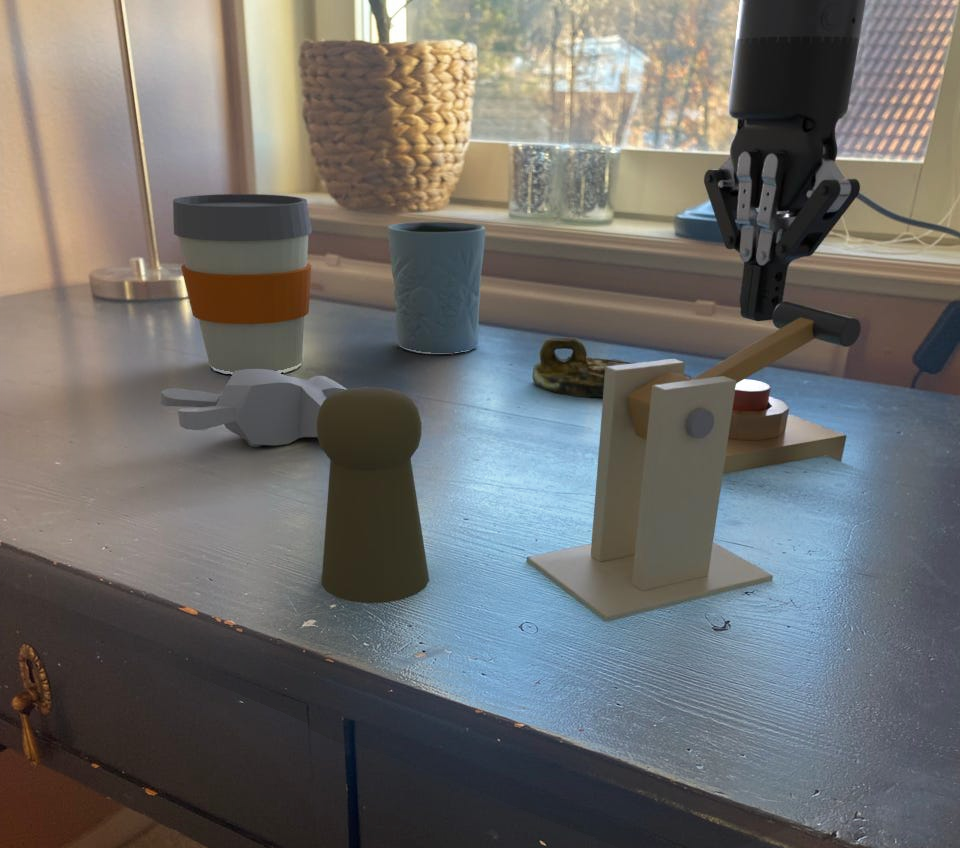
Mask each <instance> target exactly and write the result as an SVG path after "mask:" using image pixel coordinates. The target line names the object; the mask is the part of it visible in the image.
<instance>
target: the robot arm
mask: <svg viewBox="0 0 960 848" xmlns="http://www.w3.org/2000/svg"><path fill="white" fill-rule="evenodd" d="M866 1H867V0H739V8H738V17H737V26H736V33H735V34H736V35H735V44H734V53H733V62H732V70H731V80H730V86H729V88H730V89H729V96H728V97H729V98H728V105H727V112H728V115H729V116H730V117H731V118H732V119H736V120H737V126H736V130H735V133H734V136H733V138H732V140H731V142H730V145H729V158H727V159H726V161H724V163H723V164H722V165H721V166H720V167H719V168H713V169H708V170H706V171H705V173H704V176H703V184H704V187H705V190H706V193H707V196H708V198H709V202H710V205H711V207H712V211H713V214H714V217H715V220H716V223H717V226H718V230H719V232H720V235H721V238H722V240H723V244H724V246H725V248H726V249H727V250H735V251H736V252H737V253H738V254H739V258H740V260H741V261H742V262H743V269H742V279H741V286H740V294H739V307H740V316H741V318H743V319H747V320H751V321H755V322H765V321H773V313H774V310H775V309H776V307H777V306H778V305H779V304H780V303H782V302H784V296H785V295H784V294H785V288H786V280H787V274H788V269H789V266H790V264H791V263H792V262H793V261H795V260H798V259H801V258H805V257H811V256H812V255H814V253H815V252H816V251H817V249H818V248H819V247H820V246H821V244H822V243H823V241H824V240H825V239H826V237H828V235H829V234H830V232H831V231H832V230H833V228H834V227H835V226H836V224H837V223H839V221H840V219H841V218H842V217H843V215H844V214H845V213H846V211H847V210H848V209H849V207H851V205H852V204H853V203H854V201H855V200H856V198H858V196H859V194H860V191H861V184H860V181H859V180H858V179H857V178H845V176H844V175H843V173H842V172H841V170H840V169H839V167H838V166H837V164H836V163H835V162H836V159H837V156H838V144H837V138H836V137H837V136H836V127H837V124H838V122H839V120H840V119H842V118H844V117H845V116H846V114H847V112H848V111H849V105H850V98H851V92H852V86H853V81H854V74H855V68H856V62H857V55H858V49H859V44H860V38H861V31H862V27H863V26H862V25H863V21H864V20H863V19H864V13H865V6H866ZM757 209H758V211H757ZM737 224H738V225H739V226H740V229H739V227H738V225H737ZM780 232H781V234H780Z"/></svg>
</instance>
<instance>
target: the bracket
mask: <svg viewBox="0 0 960 848" xmlns="http://www.w3.org/2000/svg"><path fill="white" fill-rule="evenodd" d="M640 362H641V361H640ZM640 362H637V363H634V362H632V363H633V364H624V365H616V366H607V367H606V368H605V379H604V392H603V397H602V403H601V404H602V405H601V417H600V418H601V419H600V430H599V445H598V457H597V468H596V481H595V495H594V505H593V507H594V508H593V519H592V531H591V535H592V536H591V543H587V544H582V545H577V546H572V547H568V548H564V549H558V550H553V551H549V552H544V553H543V552H542V553H538V554H534V555H529V556H527V557H526V559H525V561H526V563H527V564H529V566H531V567H532V568H534V570H536V571H538V573H540V574H541V575H543V576H544V577H545V578H547V579H548V580H549V581H551V583H553V584H555V585H556V586H557V587H559V588H560V589H561V590H563V591H564V592H565V593H567V594H568V595H569V596H570V597H572V598H573V599H574V600H576V601H577V602H578V603H580V604H581V605H583V606H584V607H585V608H586V609H588V610H589V611H590V612H592V613H593V614H594V615H595V616H597V617H598V618H599V619H601V620H602V621H603V622H605V623H607V622H612V621H615V620H620V619H624V618H627V617H628V618H629V617H631V616H637V615H639V614H643V613H647V612H652V611H655V610H660V609H663V608H664V609H665V608H667V607H671V606H676V605H680V604H683V603H688V602H693V601H696V600H701V599H705V598H709V597H713V596H716V595H720V594H724V593H729V592H733V591H736V590H737V591H738V590H740V589H744V588H749V587H753V586H757V585H760V584H764V583H769V582H772V581H773V579H774V576H773V574H771V573H769V572H768V571H766V570H764V569H762V568H761V567H759V566H757V565H755V564H753V563H752V562H750V561H748V560H746V559H744V558H743V557H741V556H739V555H738V554H736V553H734V552H732V551H730V550H728V549H727V548H724V547H723V546H721V545H719V544H718V543H716V542H714V537H715V531H716V526H717V525H716V524H717V518H718V510H719V503H720V497H721V489H722V483H723V477H724V474H723V470H724V463H725V456H726V449H727V443H728V436H729V429H730V422H731V415H732V408H733V401H734V395H735V388H736V380H733V379H731V378H728V377H725V376H720V377H712V378H705V379H697V380H689V381H682V382H674V383H666V384H659V385H653V386H652V393H651V402H650V412H649V421H648V431H647V440H645V439H643V438H641V437H639V436H637V435H636V433H635V428H634V424H633V419H632V415H631V411H630V406H629V402H628V397H627V395H628V394H630V393H632V392H633V391H635V390H637V389H639V388H640V387H642V386H644V385H646V384H648V383H649V382H651V381H653V380H655V379H657V378H658V377H660V376H662V375H664V374H665V373H667V372H669V371H672V372H674V373H677V374H680V375H682V376H684V374H685V369H686V368H685V367H686V362H684V361H683V360H682V361H681V360H679V359H676V358H668V359H660V360H659V359H658V360H651V361H642V362H641V363H640Z"/></svg>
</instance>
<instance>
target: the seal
mask: <svg viewBox="0 0 960 848" xmlns="http://www.w3.org/2000/svg"><path fill="white" fill-rule="evenodd" d="M561 349H567V350H572V353H571V355H570V356H567V358H561V357H559V356H558V355H557V354H556V350H561ZM587 355H588V354H587V350H586V347H585V345H584V343H583V342H582V340H581V339H578V337H575V336H574V337H573V336H568V337H559V336H555V337H546V338H545V339H544V341H543V343H542V344H541V347H540V350H539V360H540V362H538V363H535V364H534V366H533V370H532V380H533V382H534V383H535V384H536V385H537V386H538V387H541V388H542V389H545V390H547V391H551V392H554V393H557V394H561V395H565V396H571V397H579V398H582V397H583V398H597V397H598V398H603V392H604V379H605V368H606V367H607V366H616V365H624V364H633V363H638V362H637V361H635V362H629V361H623V360H619V359H607V358H598V357H589V356H587ZM639 363H641V361H640V362H639ZM684 376H685V377H688V378H690V379H692V378H693V377H691V375H689V374H687V373H684Z"/></svg>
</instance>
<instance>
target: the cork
mask: <svg viewBox="0 0 960 848" xmlns="http://www.w3.org/2000/svg"><path fill="white" fill-rule="evenodd" d="M346 389H347V390H342V391H339V392H336V393H334V394H332V395H331V396H329V397H328V398H327V399H325V400H324V402H323V403H322V405H321V407H320V409H319V412H318V418H317V435H318V437H317V440H318V442H319V445H320V448H321V450H322V451H323V453H324V455H326V456H327V458H328V459H329V472H328V473H329V474H328V485H327V486H328V489H327V502H326V503H327V504H326V515H325V528H324V529H325V531H324V532H325V533H324V541H323V543H324V544H323V555H322V572H321V585H322V587H323V588H324V590H325V591H326V592H327V593H328V594H330V595H332V596H334V597H335V598H338V599H341V600H345V601H348V602H351V603H363V604H382V603H383V604H384V603H390V602H394V601H395V602H396V601H401V600H405V599H407V598H410V597H412V596H416V595H417V594H419V593H420V592H422V591H423V590H424V589H425V588H427V585H428V583H429V581H430V578H429V577H430V575H429V568H428V563H427V557H426V550H425V543H424V537H423V531H422V530H423V529H422V523H421V518H420V517H421V516H420V509H419V505H418V498H417V497H418V496H417V490H416V484H415V478H414V471H413V465H412V457H413V456H414V454H415V453H416V451H417V450H418V448H419V447H420V442H421V439H422V420H421V416H420V412H419V408H418V406H417V405H416V403H415V402H414V400H413V398H411V397H409V395H407V394H405V393H404V392H401V391H399V390H396V389H391V388H387V387H386V388H385V387H376V386H363V387H353V388H346Z"/></svg>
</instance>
